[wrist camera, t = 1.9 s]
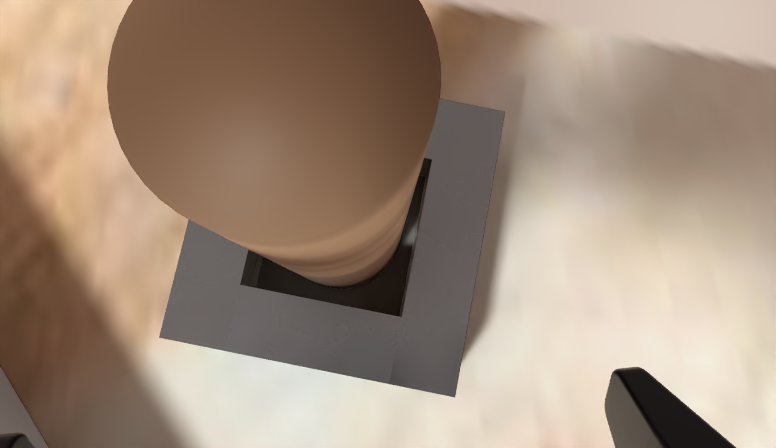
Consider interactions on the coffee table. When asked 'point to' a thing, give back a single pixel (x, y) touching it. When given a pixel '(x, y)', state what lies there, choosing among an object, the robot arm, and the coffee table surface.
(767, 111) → the coffee table surface
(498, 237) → the coffee table surface
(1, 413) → the tray
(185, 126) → the pin
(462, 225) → the gray square socket plate
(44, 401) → the coffee table surface
